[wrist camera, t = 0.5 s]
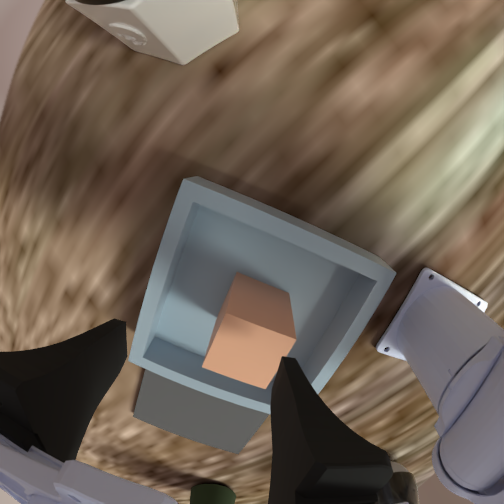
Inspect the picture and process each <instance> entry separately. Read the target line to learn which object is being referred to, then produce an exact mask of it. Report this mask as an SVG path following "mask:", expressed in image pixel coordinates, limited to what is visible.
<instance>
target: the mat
mask: <svg viewBox="0 0 504 504" xmlns="http://www.w3.org/2000/svg"><path fill="white" fill-rule="evenodd" d="M268 415H269V414H268V413H264V412H261V411H257V410H254V409H251V408H247V407H244V406H241V405H238V404H235V403H232V402H229V401H226V400H223V399H220V398H217V397H214V396H211V395H208V394H206V393H203V392H200V391H198V390H195V389H192V388H190V387H187V386H185V385H182V384H180V383H177V382H175V381H172V380H170V379H167V378H165V377H163V376H160V375H158V374H156V373H154V372H151V371H149V370H147V369H145V373H144V376H143V380H142V384H141V387H140V391H139V395H138V399H137V403H136V407H135V411H134V415H133V417H135V418H137V419H140V420H142V421H144V422H146V423H149V424H151V425H154V426H156V427H158V428H161V429H163V430H166V431H169V432H171V433H174V434H177V435H179V436H182V437H185V438H188V439H190V440H193V441H196V442H199V443H202V444H206V445H209V446H212V447H215V448H219V449H222V450H225V451H229V452H233V453H236V454H239V452H240V451H241V450H242V449H243V447H244V446H245V445H246V444H247V443H248V441H249V440H250V439H251V437H252V436H253V435H254V434H255V432H256V431H257V430H258V428H259V427H260V426H261V425H262V423H263V422H264V421H265V419H266V418H267V417H268Z"/></svg>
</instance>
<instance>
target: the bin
mask: <svg viewBox="0 0 504 504" xmlns="http://www.w3.org/2000/svg"><path fill="white" fill-rule="evenodd" d="M236 272H239V273H241V274H243V275H246V276H248V277H251V278H253V279H256V280H258V281H260V282H263V283H265V284H268V285H270V286H273V287H275V288H278V289H280V290H283V291H285V292H288V293H289V295H290V301H291V307H292V313H293V320H294V326H295V332H296V339H297V340H296V341H295V343H294V345H293V346H292V348H291V350H290V351H289V353H288V355H287V356H286V357H291V358H296V360H297V361H298V363H299V365H300V367H301V369H302V370H303V372H304V374H305V376H306V377H307V379H308V381H309V382H310V384H311V385H312V387H313V388H314V390H315V391H316V393H317V394H318V393H319V392H320V391H321V390H322V388H323V387H324V386H325V384H326V383H327V382H328V380H329V379H330V377H331V376H332V375H333V373H334V372H335V371H336V369H337V368H338V366H339V365H340V364H341V362H342V361H343V359H344V358H345V356H346V355H347V353H348V352H349V351H350V349H351V348H352V346H353V345H354V343H355V342H356V340H357V339H358V337H359V336H360V334H361V332H362V331H363V329H364V328H365V326H366V325H367V323H368V321H369V320H370V318H371V317H372V315H373V313H374V312H375V310H376V308H377V307H378V305H379V303H380V302H381V300H382V298H383V297H384V295H385V293H386V291H387V290H388V288H389V286H390V284H391V283H392V281H393V279H394V277H395V275H396V272H395V271H394V270H393V269H392V268H391V267H390V266H389V265H387V264H386V263H385V262H384V261H383V260H382V259H381V258H380V257H379V256H377V255H375V254H373V253H371V252H369V251H367V250H365V249H362V248H360V247H358V246H356V245H354V244H352V243H350V242H348V241H346V240H344V239H342V238H339V237H337V236H335V235H333V234H331V233H329V232H327V231H324V230H322V229H320V228H318V227H316V226H314V225H311V224H309V223H307V222H305V221H303V220H300V219H298V218H296V217H294V216H291V215H289V214H287V213H285V212H282V211H280V210H278V209H275V208H273V207H271V206H269V205H266V204H264V203H262V202H259V201H257V200H255V199H252V198H250V197H247V196H245V195H243V194H240V193H238V192H236V191H233V190H231V189H228V188H226V187H223V186H221V185H218V184H216V183H214V182H211V181H209V180H206V179H204V178H201V177H199V176H194V177H189V178H184V179H183V181H182V183H181V186H180V189H179V192H178V194H177V197H176V200H175V203H174V205H173V208H172V211H171V214H170V217H169V220H168V223H167V225H166V228H165V231H164V234H163V237H162V240H161V244H160V247H159V250H158V253H157V256H156V259H155V263H154V266H153V269H152V272H151V276H150V279H149V283H148V286H147V290H146V293H145V297H144V300H143V304H142V308H141V311H140V315H139V319H138V323H137V327H136V331H135V335H134V339H133V343H132V347H131V351H130V356H129V360H128V361H130V362H132V363H134V364H136V365H138V366H140V367H143V368H145V369H147V370H149V371H151V372H154V373H156V374H158V375H160V376H163V377H165V378H167V379H170V380H172V381H175V382H177V383H180V384H182V385H185V386H187V387H190V388H192V389H195V390H198V391H200V392H203V393H206V394H208V395H211V396H214V397H217V398H220V399H223V400H226V401H229V402H232V403H235V404H238V405H241V406H244V407H247V408H251V409H254V410H257V411H261V412H264V413H268V414H271V411H270V405H271V392H272V386H273V383H274V380H275V377H276V374H277V372H276V374H275V375H274V377H273V379H272V380H271V382H270V383H269V385H268V386H267V388H266V389H263V388H260V387H257V386H254V385H250V384H247V383H244V382H242V381H239V380H236V379H233V378H230V377H227V376H224V375H222V374H219V373H216V372H213V371H211V370H208V369H206V368H203V367H202V365H203V361H204V358H205V355H206V351H207V348H208V345H209V341H210V338H211V335H212V332H213V328H214V325H215V322H216V319H217V316H218V314H219V311H220V309H221V307H222V304H223V302H224V300H225V298H226V295H227V293H228V291H229V288H230V286H231V284H232V281H233V279H234V277H235V275H236Z"/></svg>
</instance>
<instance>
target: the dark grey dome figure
mask: <svg viewBox="0 0 504 504" xmlns="http://www.w3.org/2000/svg"><path fill="white" fill-rule="evenodd" d="M390 462H391V466H392V469H393V475H392V477H391V479H390V480H389V481H388V482H387V483H386V484H385V485H384V486H383V487H382V488H381V489H380V490H379V491H378V492H377V497H378V501H377V502H376V503H375V504H397V503H403V502H408V503H409V504H419V497H418V490H417V485H416V481H415V478H414V475H413V474H412V473H410V472H409V471H408V470H407V469H406V468H405V467H404V466H402V465H401V464H399V463H396V462H392V461H390Z"/></svg>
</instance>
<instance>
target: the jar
mask: <svg viewBox="0 0 504 504" xmlns="http://www.w3.org/2000/svg"><path fill="white" fill-rule="evenodd" d="M65 2H66V3H67V4H68V5H70V6H71V7H73V8H74V9H76V10H77V11H79V12H80V13H82V14H83V15H85V16H86V17H88V18H89V19H91V20H92V21H94V22H95V23H96V24H98V25H99V26H101V27H102V28H104V29H105V30H106V31H108V32H109V33H111V34H112V35H113V36H115V37H116V38H117V39H119V40H120V41H122V42H123V43H124V44H126V45H127V46H128V47H130V48H131V49H132V50H134V51H137V52H141V53H145V54H148V55H152V56H155V57H158V58H162V59H165V60H168V61H171V62H174V63H177V64H180V65H185V64H187V63H189V62H190V61H192V60H193V59H195V58H196V57H198V56H199V55H201V54H202V53H204V52H205V51H207V50H209V49H210V48H212V47H213V46H215V45H217V44H218V43H220V42H222V41H223V40H225V39H227V38H229V37H230V36H232V35H234V34H236V33H237V32H238V31H239V19H238V4H237V0H65Z"/></svg>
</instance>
